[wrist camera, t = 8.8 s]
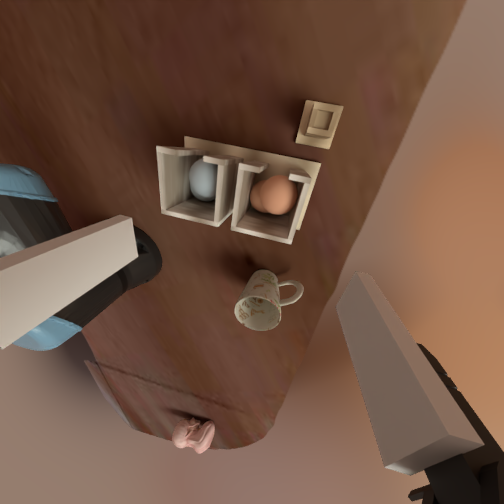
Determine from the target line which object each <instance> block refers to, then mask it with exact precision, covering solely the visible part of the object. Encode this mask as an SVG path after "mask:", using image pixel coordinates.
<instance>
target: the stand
mask: <svg viewBox="0 0 504 504" xmlns="http://www.w3.org/2000/svg"><path fill="white" fill-rule="evenodd" d="M343 107H344V106H338V105H332V104H327V103H321V102H315V101H309V100H306V102H305V106H304V110H303V114H302V118H301V122H300V126H299V130H298V134H297V138H296V142H295V143H299V144H304V145H310V146H315V147H320V148H325V149H329V148H330V145H331V142H332V139H333V136H334V133H335V130H336V127H337V124H338V121H339V118H340V115H341V112H342V109H343Z"/></svg>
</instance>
